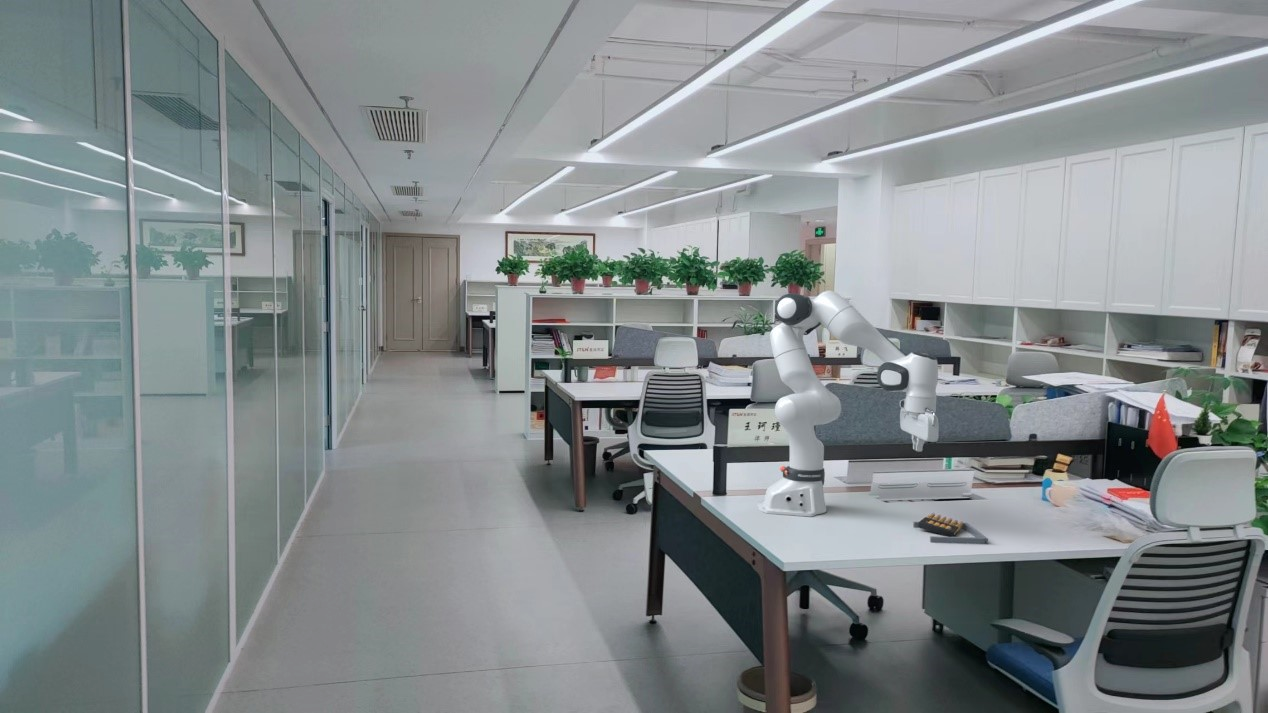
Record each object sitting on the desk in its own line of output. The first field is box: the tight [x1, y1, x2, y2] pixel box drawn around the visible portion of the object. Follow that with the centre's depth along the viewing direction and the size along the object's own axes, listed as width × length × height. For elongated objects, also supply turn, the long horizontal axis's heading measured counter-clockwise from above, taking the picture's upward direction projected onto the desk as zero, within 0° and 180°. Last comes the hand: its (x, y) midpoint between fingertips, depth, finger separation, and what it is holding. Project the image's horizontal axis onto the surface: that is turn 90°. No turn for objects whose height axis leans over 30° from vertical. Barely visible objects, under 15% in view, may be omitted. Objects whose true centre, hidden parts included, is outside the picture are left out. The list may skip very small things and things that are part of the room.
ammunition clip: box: [918, 512, 964, 537], centre depth 264 cm, size 11×2×12 cm
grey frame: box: [912, 521, 989, 545], centre depth 259 cm, size 16×17×2 cm
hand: (917, 450), depth 262 cm, fingers closed
